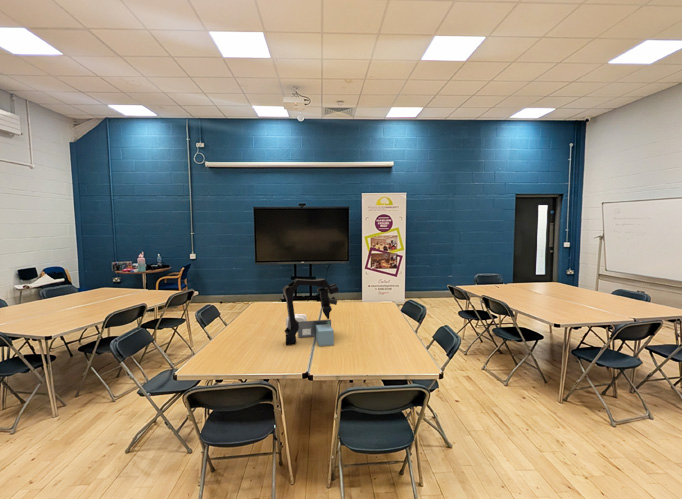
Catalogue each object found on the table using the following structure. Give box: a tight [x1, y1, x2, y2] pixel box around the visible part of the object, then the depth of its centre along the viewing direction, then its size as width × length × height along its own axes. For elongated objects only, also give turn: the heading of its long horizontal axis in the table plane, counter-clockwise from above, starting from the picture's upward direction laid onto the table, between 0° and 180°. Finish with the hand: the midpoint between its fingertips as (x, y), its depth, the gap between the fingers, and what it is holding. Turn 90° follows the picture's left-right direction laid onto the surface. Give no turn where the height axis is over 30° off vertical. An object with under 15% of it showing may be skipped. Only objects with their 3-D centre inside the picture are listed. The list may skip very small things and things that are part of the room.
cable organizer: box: [285, 313, 308, 333], centre depth 242 cm, size 15×11×12 cm
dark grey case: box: [297, 318, 332, 339], centre depth 219 cm, size 30×25×12 cm
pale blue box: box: [315, 324, 335, 347], centre depth 214 cm, size 10×14×10 cm
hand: (327, 317), depth 224 cm, fingers open, 9 cm apart
